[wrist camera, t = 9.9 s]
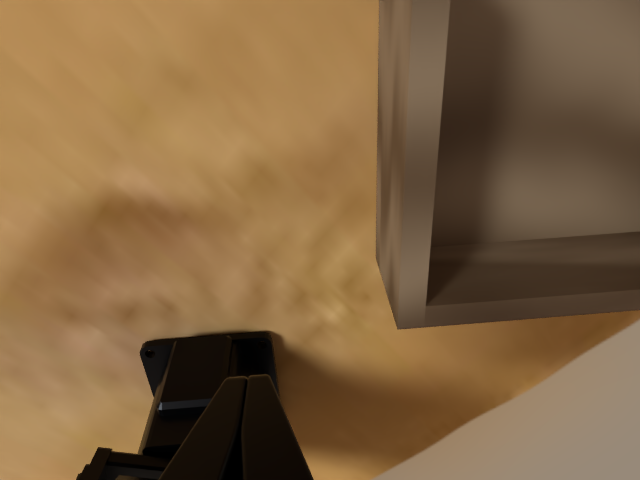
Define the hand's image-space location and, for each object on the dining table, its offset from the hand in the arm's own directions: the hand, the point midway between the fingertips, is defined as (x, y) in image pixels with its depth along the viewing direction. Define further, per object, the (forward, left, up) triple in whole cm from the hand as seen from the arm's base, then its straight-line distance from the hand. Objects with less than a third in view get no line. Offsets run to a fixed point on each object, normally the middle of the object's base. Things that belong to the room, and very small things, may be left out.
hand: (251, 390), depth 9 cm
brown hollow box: (+1, -11, -12) cm, 16 cm away
